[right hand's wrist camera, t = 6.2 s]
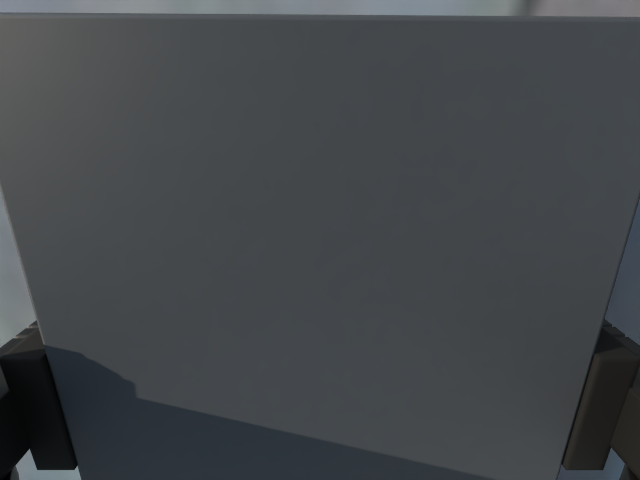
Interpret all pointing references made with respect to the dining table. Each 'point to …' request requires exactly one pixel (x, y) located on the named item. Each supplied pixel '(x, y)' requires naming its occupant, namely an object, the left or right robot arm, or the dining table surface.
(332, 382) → the wide beam
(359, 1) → the dining table surface
